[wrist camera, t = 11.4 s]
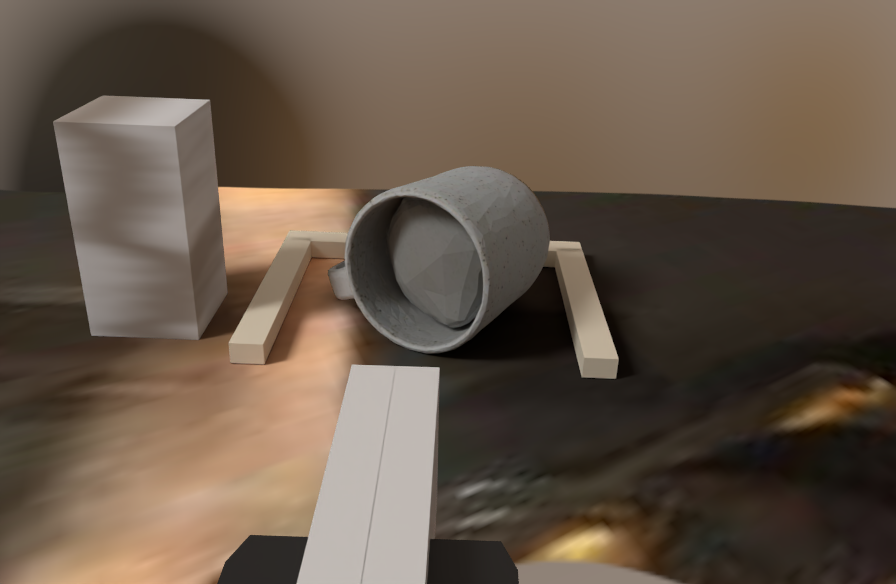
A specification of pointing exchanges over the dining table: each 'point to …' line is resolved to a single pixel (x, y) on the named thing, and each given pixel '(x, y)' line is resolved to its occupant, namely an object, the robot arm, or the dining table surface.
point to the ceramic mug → (443, 256)
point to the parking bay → (300, 246)
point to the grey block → (144, 214)
